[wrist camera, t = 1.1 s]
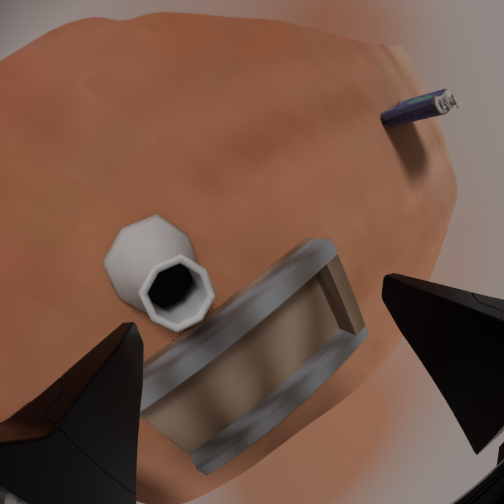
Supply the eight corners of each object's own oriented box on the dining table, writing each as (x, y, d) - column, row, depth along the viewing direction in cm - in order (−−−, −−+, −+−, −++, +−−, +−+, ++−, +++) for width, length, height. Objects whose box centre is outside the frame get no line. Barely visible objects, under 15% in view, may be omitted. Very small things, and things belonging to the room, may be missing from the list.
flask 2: (401, 99, 33) (458, 84, 24) (409, 116, 34) (466, 104, 25) (376, 114, 31) (444, 95, 21) (385, 133, 31) (454, 119, 22)
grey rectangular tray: (195, 453, 23) (206, 475, 20) (112, 385, 19) (114, 408, 16) (346, 326, 30) (368, 335, 27) (306, 237, 26) (331, 239, 23)
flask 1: (214, 268, 22) (282, 295, 14) (149, 329, 20) (176, 398, 11) (158, 197, 20) (190, 171, 11) (86, 260, 18) (58, 288, 9)
